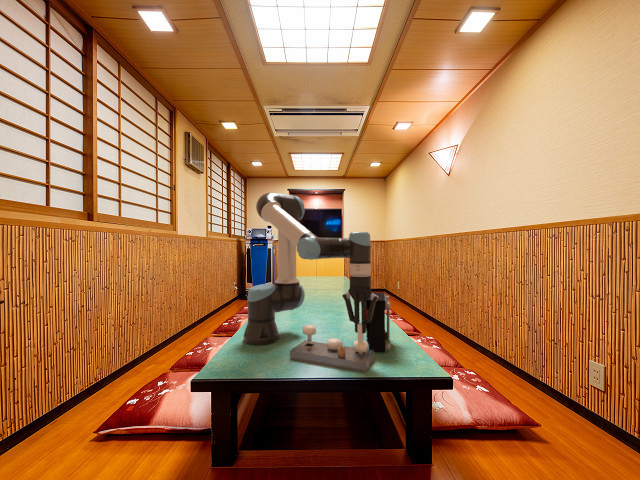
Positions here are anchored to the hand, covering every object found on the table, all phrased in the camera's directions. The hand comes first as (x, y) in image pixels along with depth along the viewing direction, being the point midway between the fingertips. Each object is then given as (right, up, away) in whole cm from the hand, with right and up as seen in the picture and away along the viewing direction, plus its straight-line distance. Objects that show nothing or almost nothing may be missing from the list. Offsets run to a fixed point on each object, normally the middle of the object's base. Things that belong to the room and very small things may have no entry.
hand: (360, 341), depth 102 cm
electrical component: (+9, -7, +17) cm, 20 cm away
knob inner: (-18, -2, +8) cm, 20 cm away
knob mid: (-9, -6, +4) cm, 12 cm away
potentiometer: (-7, -4, -4) cm, 9 cm away
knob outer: (0, -6, 0) cm, 6 cm away
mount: (-10, -7, +2) cm, 12 cm away
